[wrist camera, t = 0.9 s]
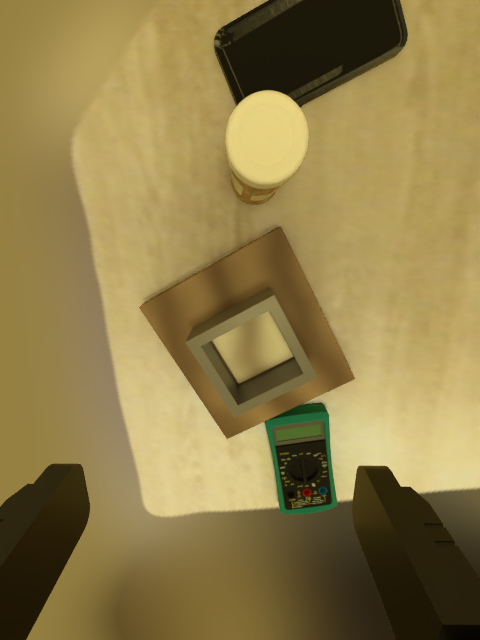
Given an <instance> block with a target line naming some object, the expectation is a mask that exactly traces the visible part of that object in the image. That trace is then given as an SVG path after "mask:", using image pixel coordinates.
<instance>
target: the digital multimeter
mask: <svg viewBox="0 0 480 640" xmlns="http://www.w3.org/2000/svg"><path fill="white" fill-rule="evenodd" d="M265 425H266V429H267V434H268V438H269V443H270V447H271V452H272V457H273V463H274V468H275V474H276V482H277V491H278V500H279V507H280V512H281V513H284V514H309V513H315V512H319V511H324V510H327V509H331V508H333V507H336V506H337V499H336V492H335V486H334V479H333V471H332V462H331V450H330V432H329V414H328V412H327V410H326V408H325V406H324V405H323V404H306V405H298V406H296V407H294V408H292V409H290V410H288V411H286V412H283V413H281V414H279V415H277V416H275V417H273V418H271V419H269V420H266V421H265ZM282 491H283V492H282ZM283 497H284V498H283Z"/></svg>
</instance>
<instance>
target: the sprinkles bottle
mask: <svg viewBox="0 0 480 640" xmlns="http://www.w3.org/2000/svg"><path fill="white" fill-rule="evenodd" d="M308 141H309V132H308V125H307V121H306V119H305V116H304V114H303V112H302V110H301V109H300V107H299V106H298V105H297V103H296V102H295V101H293V100H292V99H291V98H290V97H289V96H287V95H285V94H283V93H280V92H277V91H271V90H266V91H259V92H255V93H253V94H251V95H249V96H248V97H246V98H245V99H243V100H242V101H241V102H240V103H239V104H238V105H237V106H236V108H235V109H234V111H233V112H232V114H231V116H230V118H229V120H228V124H227V127H226V133H225V148H226V155H227V159H228V163H229V165H230V171H231V178H232V186H233V189H234V191H235V193H236V194H237V196H238V197H239V198H240V199H241V200H242V201H244V202H245V203H248V204H261V203H264V202H266V201H267V200H269V199H270V198H271V197H272V196H273V195H274V193H275V191H276V190H277V189H278V187H279V186H280V185H281V184H283V183H284V182H286V181H287V180H288V179H289V178H290V177H291V176H292V175H293V174H294V173H295V172H296V171H297V169H298V168H299V167H300V165H301V163H302V162H303V160H304V157H305V155H306V152H307V148H308Z"/></svg>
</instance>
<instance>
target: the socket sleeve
mask: <svg viewBox="0 0 480 640" xmlns="http://www.w3.org/2000/svg"><path fill="white" fill-rule="evenodd" d="M267 311H270V312H271V314H272V316H273V318H274V320H275V322H276V324H277V325H278V327H279V329H280V331H281V333H282V335H283V337H284V338H285V340H286V342H287V344H288V346H289V348H290V349H291V351H292V353H293V355H294V358H292V359H290V360H288V361H286V362H284V363H282V364H279V365H277V366H275V367H273V368H271V369H269V370H267V371H265V372H263V373H261V374H259V375H257V376H255V377H253V378H251V379H249V380H247V381H245V382H243V383H241V384H239V385H238V384H237V382H236V381H235V379H234V378H233V376H232V374H231V373H230V371H229V369H228V368H227V366H226V365H225V363H224V361H223V360H222V358H221V356H220V355H219V353H218V352H217V350H216V348H215V347H214V345H213V344H212V342H211V341H212V340H214V339H215V338H217V337H219V336H221V335H223V334H225V333H227V332H229V331H231V330H233V329H234V328H236V327H238V326H240V325H242V324H244V323H246V322H248V321H250V320H252V319H253V318H255V317H257V316H259V315H261V314H263V313H265V312H267ZM186 344H187V346H188V347H189V349H190V350H191V352H192V353H193V355H194V356H195V358H196V360H197V361H198V363H199V364H200V366H201V367H202V369H203V370H204V372H205V373H206V375H207V377H208V378H209V380H210V381H211V383H212V384H213V386H214V387H215V389H216V391H217V392H218V394H219V395H220V397H221V398H222V400H223V401H224V403H225V404H226V406H227V408H228V409H229V411H230V412H231V414H232V415H233V417H236V416H239V415H241V414H243V413H245V412H247V411H249V410H251V409H253V408H255V407H257V406H259V405H261V404H264V403H266V402H268V401H270V400H272V399H274V398H276V397H278V396H280V395H282V394H284V393H287V392H289V391H291V390H293V389H295V388H297V387H299V386H301V385H303V384H305V383H307V382H309V381H312V380H314V379H316V378H318V377H317V375H316V373H315V371H314V369H313V367H312V365H311V364H310V362H309V360H308V358H307V356H306V354H305V352H304V350H303V348H302V347H301V345H300V343H299V341H298V339H297V337H296V335H295V333H294V331H293V329H292V328H291V326H290V324H289V322H288V320H287V318H286V316H285V314H284V312H283V311H282V309H281V307H280V305H279V303H278V301H277V299H276V297H275V295H274V294H273V292H272V290H271V288H270V287H268V288H266V289H264V290H262V291H261V292H259V293H257V294H255V295H253V296H251V297H249V298H248V299H246V300H244V301H242V302H240V303H238V304H236V305H235V306H233V307H231V308H229V309H227V310H225V311H223V312H221V313H220V314H218V315H216V316H214V317H212V318H210V319H208V320H207V321H205V322H203V323H201V324H199V325H197V326H195V327H194V328H192V329H191V332H190V334H189V336H188V338H187V340H186Z"/></svg>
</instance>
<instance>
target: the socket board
mask: <svg viewBox="0 0 480 640" xmlns="http://www.w3.org/2000/svg"><path fill="white" fill-rule="evenodd" d="M268 287H270V288H271V290H272V292H273V294H274V295H275V297H276V299H277V301H278V303H279V305H280V307H281V309H282V311H283V312H284V314H285V316H286V318H287V320H288V322H289V324H290V326H291V328H292V329H293V331H294V333H295V335H296V337H297V339H298V341H299V343H300V345H301V347H302V348H303V350H304V352H305V354H306V356H307V358H308V360H309V362H310V364H311V365H312V367H313V369H314V371H315V373H316V375H317V377H318V378H316V379H314V380H312V381H309V382H307V383H305V384H303V385H301V386H299V387H297V388H295V389H293V390H291V391H289V392H287V393H284V394H282V395H280V396H278V397H276V398H274V399H272V400H270V401H268V402H266V403H264V404H261V405H259V406H257V407H255V408H253V409H251V410H249V411H247V412H245V413H243V414H241V415H239V416H236V417H233V415H232V414H231V412H230V411H229V409H228V408H227V406H226V404H225V403H224V401H223V400H222V398H221V397H220V395H219V394H218V392H217V391H216V389H215V387H214V386H213V384H212V383H211V381H210V380H209V378H208V377H207V375H206V373H205V372H204V370H203V369H202V367H201V366H200V364H199V363H198V361H197V360H196V358H195V356H194V355H193V353H192V352H191V350H190V349H189V347H188V346H187V344H186V340H187V338H188V336H189V334H190V332H191V329H192V328H194V327H195V326H197V325H199V324H201V323H203V322H205V321H207V320H208V319H210V318H212V317H214V316H216V315H218V314H220V313H221V312H223V311H225V310H227V309H229V308H231V307H233V306H235V305H236V304H238V303H240V302H242V301H244V300H246V299H248V298H249V297H251V296H253V295H255V294H257V293H259V292H261V291H262V290H264V289H266V288H268ZM139 308H140V309H141V311H142V312H143V314H144V315H145V317H146V318H147V320H148V321H149V323H150V324H151V326H152V327H153V329H154V330H155V332H156V333H157V335H158V336H159V338H160V339H161V341H162V342H163V344H164V345H165V347H166V348H167V350H168V351H169V353H170V354H171V356H172V357H173V359H174V360H175V362H176V363H177V365H178V366H179V368H180V369H181V371H182V372H183V374H184V375H185V377H186V378H187V380H188V381H189V383H190V384H191V386H192V387H193V389H194V390H195V392H196V393H197V395H198V396H199V398H200V399H201V401H202V402H203V404H204V405H205V407H206V408H207V410H208V411H209V413H210V414H211V416H212V417H213V419H214V420H215V422H216V423H217V425H218V426H219V428H220V429H221V431H222V432H223V434H224V435H225V436H226V438H227V439H228V438H230V437H232V436H235V435H237V434H239V433H241V432H243V431H245V430H247V429H249V428H252V427H254V426H256V425H258V424H260V423H262V422H264V421H266V420H269V419H271V418H273V417H275V416H277V415H279V414H281V413H283V412H286V411H288V410H290V409H292V408H294V407H296V406H298V405H300V404H303V403H305V402H307V401H309V400H311V399H313V398H315V397H317V396H320V395H322V394H324V393H326V392H328V391H330V390H332V389H335V388H337V387H339V386H341V385H343V384H345V383H347V382H349V381H352V380H354V379H355V377H354V375H353V373H352V371H351V369H350V367H349V365H348V363H347V361H346V359H345V357H344V355H343V353H342V351H341V349H340V347H339V345H338V343H337V341H336V339H335V336H334V334H333V332H332V330H331V328H330V326H329V324H328V322H327V320H326V318H325V316H324V314H323V312H322V310H321V308H320V306H319V304H318V302H317V300H316V298H315V296H314V294H313V291H312V289H311V287H310V285H309V283H308V281H307V279H306V277H305V275H304V273H303V271H302V269H301V267H300V265H299V263H298V261H297V259H296V257H295V255H294V253H293V251H292V248H291V246H290V244H289V242H288V240H287V238H286V236H285V234H284V232H283V230H282V228H281V227H278V228H276V229H274V230H272V231H271V232H269V233H267V234H265V235H264V236H262V237H260V238H258V239H257V240H255V241H253V242H251V243H249V244H248V245H246V246H244V247H242V248H241V249H239V250H237V251H235V252H234V253H232V254H230V255H228V256H226V257H225V258H223V259H221V260H219V261H218V262H216V263H214V264H212V265H211V266H209V267H207V268H205V269H203V270H202V271H200V272H198V273H196V274H195V275H193V276H191V277H189V278H188V279H186V280H184V281H182V282H180V283H179V284H177V285H175V286H173V287H172V288H170V289H168V290H166V291H165V292H163V293H161V294H159V295H158V296H156V297H154V298H152V299H150V300H149V301H147V302H145V303H144V304H143V305H141V306H140V307H139ZM211 342H212V344H213V345H214V347H215V348H216V350H217V352H218V353H219V355H220V356H221V358H222V360H223V361H224V363H225V365H226V366H227V368H228V369H229V371H230V373H231V374H232V376H233V378H234V379H235V381H236V382H237V384H238V385H239V384H241V383H243V382H245V381H247V380H249V379H251V378H253V377H255V376H257V375H259V374H261V373H263V372H265V371H267V370H269V369H271V368H273V367H275V366H277V365H279V364H282V363H284V362H286V361H288V360H290V359H292V358H294V355H293V353H292V351H291V349H290V348H289V346H288V344H287V342H286V340H285V338H284V337H283V335H282V333H281V331H280V329H279V327H278V325H277V324H276V322H275V320H274V318H273V316H272V314H271V312H270V311H267V312H265V313H263V314H261V315H259V316H257V317H255V318H253V319H252V320H250V321H248V322H246V323H244V324H242V325H240V326H238V327H236V328H234V329H233V330H231V331H229V332H227V333H225V334H223V335H221V336H219V337H217V338H215V339H214V340H212V341H211Z"/></svg>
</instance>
